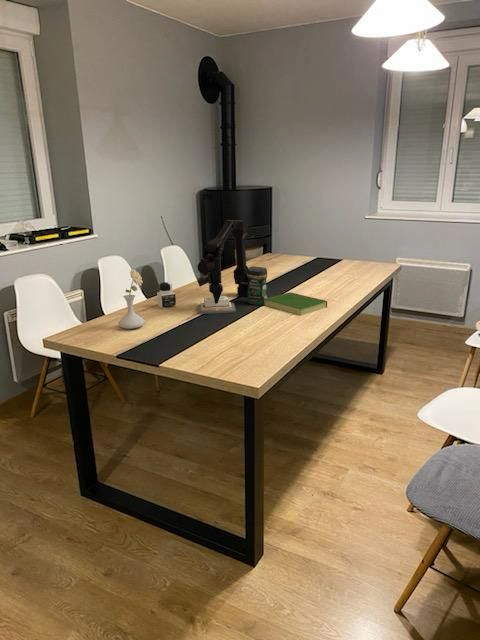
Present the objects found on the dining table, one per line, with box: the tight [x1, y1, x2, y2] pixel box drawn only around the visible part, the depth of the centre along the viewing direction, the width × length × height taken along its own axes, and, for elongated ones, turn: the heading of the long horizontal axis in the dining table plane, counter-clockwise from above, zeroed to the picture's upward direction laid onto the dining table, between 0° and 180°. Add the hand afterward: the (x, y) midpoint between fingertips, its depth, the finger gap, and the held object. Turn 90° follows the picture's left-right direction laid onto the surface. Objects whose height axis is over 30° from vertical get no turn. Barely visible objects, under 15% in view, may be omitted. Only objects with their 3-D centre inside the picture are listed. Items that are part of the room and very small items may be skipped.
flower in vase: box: [117, 268, 146, 330], centre depth 208 cm, size 13×11×25 cm
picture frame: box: [203, 295, 229, 307], centre depth 233 cm, size 11×6×3 cm, turn 101°
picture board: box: [196, 301, 237, 315], centre depth 233 cm, size 18×13×2 cm
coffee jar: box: [247, 265, 268, 306], centre depth 240 cm, size 10×8×19 cm
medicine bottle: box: [156, 281, 177, 310], centre depth 238 cm, size 7×7×12 cm
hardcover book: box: [264, 292, 328, 316], centre depth 236 cm, size 25×19×4 cm
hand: (215, 301), depth 233 cm, fingers closed on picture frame, 6 cm apart
